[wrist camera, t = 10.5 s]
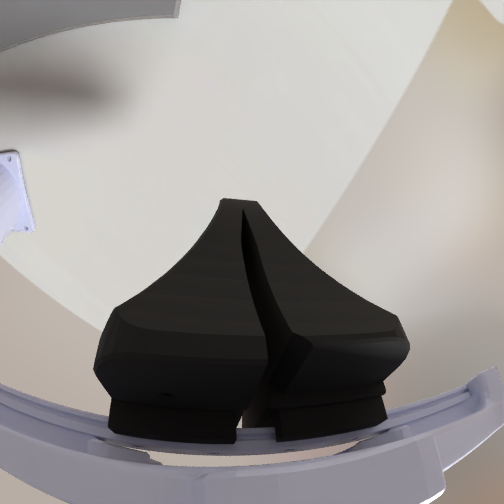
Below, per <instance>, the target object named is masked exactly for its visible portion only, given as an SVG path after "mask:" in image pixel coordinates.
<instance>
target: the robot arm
mask: <svg viewBox="0 0 504 504" xmlns="http://www.w3.org/2000/svg"><path fill="white" fill-rule="evenodd" d="M10 157H11V159H10ZM34 230H35V224H34V221H33V217H32V213H31V210H30V206H29V202H28V198H27V194H26V189H25V185H24V180H23V175H22V170H21V164H20V158H19V154H18V153H17V152H15V151H14V152H6V153H0V245H1V244H2V243H3V241H4V240H5V239H6V237H7V236H8V235H9V234H10V232H11V231H18V232H33V231H34ZM409 350H410V343H409V341H408V339H407V337H406V334H405V332H404V330H403V327H402V325H401V323H400V321H399V319H398V317H397V316H396V315H394V314H392V313H390V312H388V311H386V310H384V309H382V308H380V307H378V306H377V305H374V304H373V303H371V302H369V301H367V300H365V299H363V298H362V297H360V296H359V295H357V294H355V293H354V292H352V291H351V290H349V289H348V288H346V287H345V286H343V285H342V284H340V283H338V282H337V281H336V280H334V279H333V278H332V277H330V276H329V275H328V274H326V273H325V272H324V271H322V270H321V269H320V268H319V267H317V266H316V265H315V264H314V263H312V261H310V260H309V259H308V258H307V257H306V256H305V255H304V254H302V253H301V252H300V251H299V250H298V249H297V248H296V247H295V246H294V245H293V244H292V243H291V242H290V241H289V239H288V238H287V237H286V236H285V235H284V234H283V233H282V232H281V231H280V229H279V228H278V227H277V226H276V225H275V224H274V222H273V221H272V220H271V219H270V217H269V216H268V215H267V213H266V212H265V211H264V210H263V208H262V207H261V206H260V204H259V203H258V202H257V201H249V200H238V199H227V198H223V199H222V200H220V204H219V207H218V209H217V211H216V213H215V215H214V217H213V219H212V220H211V222H210V224H209V225H208V227H207V228H206V230H205V231H204V232H203V234H202V235H201V236H200V238H199V239H198V240H197V242H196V243H195V244H194V245H193V247H192V248H191V249H190V250H189V251H188V252H187V253H186V254H185V255H184V256H183V257H182V258H181V259H180V260H179V261H178V262H177V263H176V264H175V265H174V266H173V267H172V268H171V269H170V270H169V271H168V272H166V273H165V274H164V275H163V276H162V277H160V278H159V279H158V280H156V281H155V282H154V283H153V284H151V285H150V286H149V287H147V288H146V289H145V290H143V291H142V292H140V293H139V294H137V295H136V296H134V297H132V298H131V299H129V300H128V301H126V302H124V303H123V304H121V305H119V306H117V307H116V308H114V310H113V311H112V313H111V315H110V317H109V319H108V321H107V323H106V326H105V328H104V330H103V332H102V335H101V338H100V341H99V345H98V349H97V354H96V358H95V362H94V368H93V370H94V372H95V374H96V377H97V378H98V380H99V381H100V382H101V384H102V385H103V387H104V388H105V390H106V391H107V392H108V394H109V395H110V396H111V398H112V399H111V406H110V413H109V417H108V416H104V415H98V414H94V413H90V412H85V411H81V410H78V409H74V408H70V407H66V406H63V405H59V404H56V403H53V402H49V401H46V400H43V399H40V398H37V397H34V396H31V395H28V394H25V393H23V392H20V391H18V390H15V389H13V388H10V387H7V386H5V385H3V384H0V468H2V469H3V470H4V471H6V472H8V473H9V474H11V475H13V476H14V477H16V478H18V479H20V480H21V481H23V482H25V483H27V484H29V485H31V486H32V487H34V488H36V489H39V490H40V491H43V492H44V493H47V494H49V495H51V496H53V497H55V498H58V499H60V500H62V501H64V502H67V503H69V504H428V503H430V502H431V501H433V500H435V499H436V498H438V497H439V496H440V495H442V493H443V492H444V490H445V489H446V483H445V478H444V473H443V472H444V471H445V470H447V469H448V468H450V467H451V466H452V465H454V464H455V463H457V462H458V461H460V460H461V459H462V458H464V457H465V456H466V455H468V454H469V453H470V452H471V451H473V450H474V449H475V448H476V447H478V446H479V445H480V444H481V443H483V442H484V441H485V440H486V439H487V438H489V437H490V436H491V435H492V434H493V433H494V432H496V431H497V430H498V429H499V428H500V427H502V426H503V425H504V383H503V381H502V378H501V376H500V374H499V371H498V369H497V367H496V366H493V367H491V368H489V369H486V370H484V371H482V372H480V373H479V374H477V375H476V376H474V377H473V378H472V379H471V380H470V381H468V382H467V384H465V385H463V386H460V387H458V388H455V389H452V390H449V391H447V392H444V393H442V394H439V395H436V396H432V397H429V398H427V399H423V400H420V401H417V402H414V403H410V404H406V405H403V406H399V407H395V408H392V409H388V410H385V407H384V403H383V400H382V397H381V396H382V395H384V394H385V393H386V389H385V386H384V382H383V381H384V380H385V379H386V378H387V377H388V376H389V375H390V374H391V373H392V372H393V371H395V370H396V369H397V368H398V367H399V366H400V365H401V364H402V362H403V361H404V360H405V359H406V357H407V355H408V352H409ZM241 416H242V428H236V427H237V425H238V423H239V421H240V419H241ZM370 437H371V438H370ZM367 438H369V439H367ZM362 439H366V440H363V441H360V442H358V443H357V444H356V445H355V446H353V447H351V448H349V449H347V450H345V451H342V452H340V453H337V454H334V455H332V456H326V457H321V458H314V459H308V460H301V461H293V462H284V463H276V464H265V465H251V466H233V467H184V466H165V465H163V464H161V463H160V462H157V461H155V460H152V459H150V455H149V454H148V453H147V452H142V451H138V450H134V449H130V448H136V449H142V450H149V451H157V452H165V453H176V454H190V455H191V454H192V455H213V456H214V455H215V456H239V455H263V454H275V453H287V452H295V451H304V450H310V449H317V448H323V447H329V446H334V445H339V444H345V443H349V442H354V441H358V440H362ZM122 446H124V447H122ZM126 447H130V448H126Z"/></svg>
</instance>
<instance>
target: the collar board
mask: <svg viewBox="0 0 504 504" xmlns="http://www.w3.org/2000/svg"><path fill="white" fill-rule="evenodd" d="M180 4H181V0H0V52H1V51H3V50H6V49H8V48H11V47H14V46H16V45H19V44H22V43H25V42H28V41H31V40H34V39H37V38H40V37H44V36H47V35H51V34H55V33H58V32H62V31H67V30H71V29H75V28H80V27H85V26H91V25H97V24H103V23H110V22H118V21H127V20H138V19H154V18H178V15H179V9H180Z"/></svg>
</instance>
